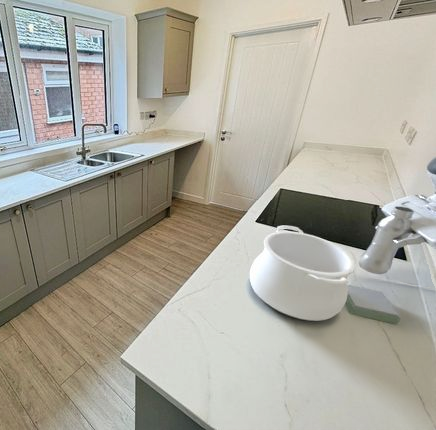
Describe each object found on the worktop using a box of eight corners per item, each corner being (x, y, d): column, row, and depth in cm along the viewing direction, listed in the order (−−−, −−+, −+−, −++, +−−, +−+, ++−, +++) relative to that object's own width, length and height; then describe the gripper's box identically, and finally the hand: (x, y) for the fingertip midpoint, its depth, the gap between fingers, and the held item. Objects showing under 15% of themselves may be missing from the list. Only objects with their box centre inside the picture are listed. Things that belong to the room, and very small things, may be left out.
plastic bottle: (353, 261, 81) (382, 202, 72) (381, 266, 78) (415, 206, 69) (360, 273, 76) (392, 211, 67) (390, 280, 73) (428, 216, 64)
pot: (237, 263, 96) (247, 222, 88) (310, 270, 93) (327, 227, 85) (262, 326, 72) (280, 277, 64) (363, 339, 68) (395, 288, 60)
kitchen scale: (379, 298, 80) (383, 291, 79) (396, 324, 72) (401, 316, 70) (337, 289, 84) (341, 282, 82) (349, 313, 75) (354, 306, 74)
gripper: (412, 185, 74) (358, 212, 80) (485, 217, 56) (408, 250, 63) (423, 200, 75) (368, 226, 82) (498, 237, 57) (421, 267, 64)
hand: (386, 237), depth 72 cm, fingers closed on plastic bottle, 6 cm apart
